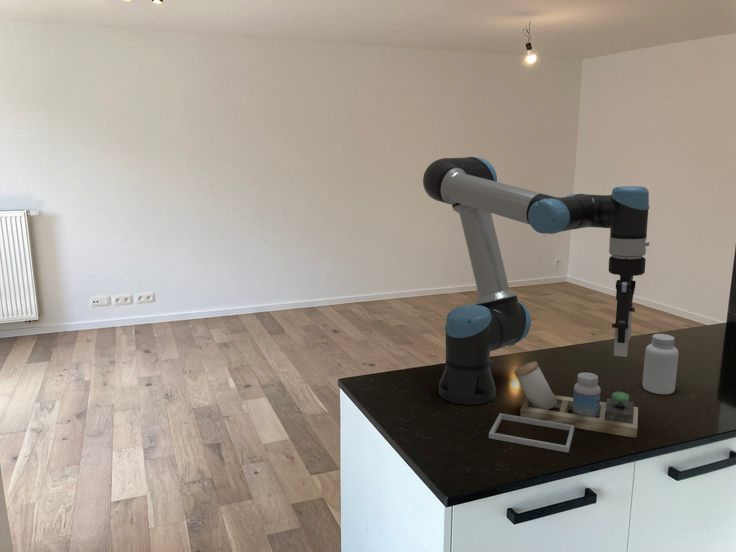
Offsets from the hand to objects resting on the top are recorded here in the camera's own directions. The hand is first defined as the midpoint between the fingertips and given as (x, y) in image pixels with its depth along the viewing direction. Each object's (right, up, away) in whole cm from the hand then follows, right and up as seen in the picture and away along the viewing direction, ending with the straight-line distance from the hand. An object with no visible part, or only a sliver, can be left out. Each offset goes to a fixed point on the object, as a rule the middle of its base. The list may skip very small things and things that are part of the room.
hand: (622, 347), depth 137 cm
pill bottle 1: (-6, -19, +7) cm, 21 cm away
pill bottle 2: (+20, -15, +24) cm, 34 cm away
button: (+1, -14, +3) cm, 15 cm away
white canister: (-14, -16, +11) cm, 24 cm away
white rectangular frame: (-21, -20, 0) cm, 29 cm away
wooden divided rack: (-7, -18, +8) cm, 21 cm away
